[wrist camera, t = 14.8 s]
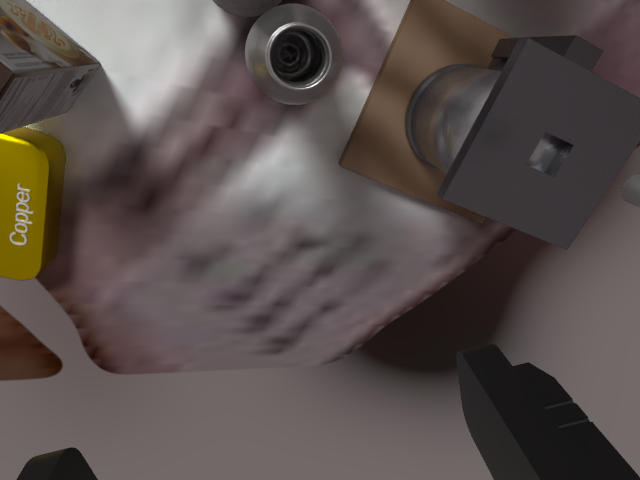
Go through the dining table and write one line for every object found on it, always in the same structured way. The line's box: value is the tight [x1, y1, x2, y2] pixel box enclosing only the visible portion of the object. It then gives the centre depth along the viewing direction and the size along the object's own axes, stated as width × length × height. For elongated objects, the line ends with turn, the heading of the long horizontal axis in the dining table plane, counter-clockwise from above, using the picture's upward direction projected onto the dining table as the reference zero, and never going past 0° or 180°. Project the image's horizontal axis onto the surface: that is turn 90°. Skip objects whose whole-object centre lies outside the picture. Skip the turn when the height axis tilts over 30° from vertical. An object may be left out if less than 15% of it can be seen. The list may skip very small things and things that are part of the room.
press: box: [405, 35, 640, 250], centre depth 38 cm, size 13×11×17 cm
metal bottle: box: [245, 3, 343, 105], centre depth 34 cm, size 6×7×20 cm
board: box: [339, 0, 514, 224], centre depth 47 cm, size 18×18×2 cm
